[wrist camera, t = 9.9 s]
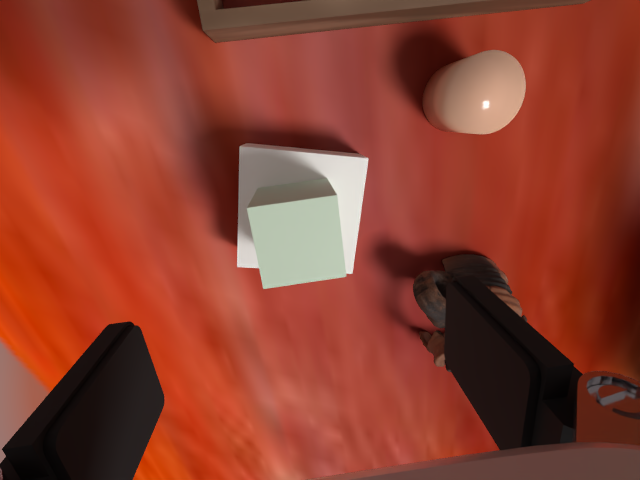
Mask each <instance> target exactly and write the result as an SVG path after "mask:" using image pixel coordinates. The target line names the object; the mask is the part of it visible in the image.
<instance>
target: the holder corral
mask: <svg viewBox="0 0 640 480" xmlns="http://www.w3.org/2000/svg"><path fill="white" fill-rule="evenodd" d="M588 1H590V0H307V1H297V2H287V3H278V4H268V5H258V6H249V7H239V8H229V9H224V8H223V2H222V0H197V3H198V8H199V14H200V19H201V24H202V29H203V31H204V32H205V33H206V34H207V35H208V36H209V37H210V38H211V39H212V40H213V41H214V42H215V43H217V42H227V41H236V40H245V39H255V38H264V37H274V36H283V35H292V34H302V33H311V32H321V31H330V30H339V29H349V28H358V27H367V26H377V25H386V24H396V23H405V22H414V21H424V20H433V19H443V18H452V17H461V16H471V15H480V14H490V13H499V12H508V11H518V10H527V9H537V8H546V7H555V6H565V5H574V4H583V3H585V2H588Z"/></svg>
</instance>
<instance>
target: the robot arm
mask: <svg viewBox="0 0 640 480" xmlns="http://www.w3.org/2000/svg"><path fill="white" fill-rule="evenodd" d="M444 356H445V361H446V363H447V366H448V367H449V369H450V370H451V372H452V374H453V375H454V377H455V378H456V380H457V382H458V383H459V385H460V387H461V388H462V390H463V391H464V393H465V395H466V396H467V398H468V399H469V401H470V403H471V404H472V406H473V407H474V409H475V411H476V412H477V414H478V415H479V417H480V419H481V420H482V422H483V423H484V425H485V427H486V428H487V430H488V431H489V433H490V435H491V436H492V438H493V439H494V441H495V443H496V444H497V446H498V447H499V449H500V450H499V451H492V452H484V453H477V454H469V455H462V456H456V457H449V458H443V459H436V460H430V461H423V462H416V463H410V464H403V465H397V466H390V467H384V468H377V469H371V470H364V471H357V472H351V473H345V474H338V475H332V476H326V477H319V478H313V479H307V480H640V382H638V381H636V380H634V379H632V378H629V377H627V376H624V375H621V374H617V373H612V372H607V371H592V372H588V373H585V374H584V375H583V374H582V373H581V372H579V371H578V370H577V369H576V368H575V367H574V366H573V365H574V364H573V363H572V362H571V361H570V360H569V359H568V358H567V357H566V356H564V355H563V354H562V353H561V352H560V351H559V350H558V349H557V348H555V347H554V346H553V345H552V344H551V343H550V342H549V341H547V340H546V339H545V338H544V337H543V336H542V335H541V334H540V333H538V332H537V331H536V330H535V329H534V328H533V327H532V326H530V325H529V324H528V323H527V322H526V321H525V320H524V319H523V318H521V317H520V316H519V315H518V314H517V313H516V312H515V311H514V310H512V309H511V308H510V307H509V306H508V305H507V304H506V303H504V302H503V301H502V300H501V299H500V298H499V297H498V296H497V295H495V294H494V293H493V292H492V291H491V290H490V289H489V288H488V287H486V286H485V285H484V284H483V283H482V282H481V281H480V280H478V279H477V278H476V277H475V276H473V275H467V276H460V277H454V278H453V279H452V281H451V283H448V284H447V286H446V313H445V345H444ZM163 406H164V394H163V391H162V388H161V385H160V382H159V379H158V377H157V374H156V371H155V368H154V365H153V362H152V360H151V357H150V354H149V351H148V348H147V345H146V343H145V340H144V337H143V334H142V331H141V329H140V327H139V326H134V324H133V323H132V322H123V323H115V324H109V325H108V326H107V327H106V328H105V329H104V330H103V331H102V332H101V334H100V335H99V336H98V337H97V338H96V339H95V341H94V342H93V343H92V344H91V345H90V346H89V348H88V349H87V350H86V351H85V352H84V353H83V355H82V356H81V357H80V358H79V359H78V361H77V362H76V363H75V364H74V365H73V366H72V368H71V369H70V370H69V371H68V372H67V373H66V375H65V376H64V377H63V378H62V379H61V380H60V382H59V383H58V384H57V385H56V386H55V387H54V389H53V390H52V391H51V392H50V393H49V395H48V396H47V397H46V398H45V399H44V401H43V402H42V403H41V404H40V405H39V406H38V407H37V409H36V410H35V411H34V412H33V413H32V414H31V416H30V417H29V418H28V419H27V421H26V422H25V423H24V424H23V425H22V426H21V427H20V429H19V430H18V431H17V432H16V433H15V434H14V436H13V437H12V438H11V439H10V441H8V443H7V444H6V445H5V446H4V447H3V449H2V450H3V452H4V453H5V455H6V457H5V459H4V460H3V461H2V462H1V463H0V480H132V479H133V477H134V475H135V472H136V470H137V468H138V465H139V463H140V461H141V458H142V456H143V454H144V451H145V449H146V447H147V444H148V442H149V440H150V437H151V435H152V433H153V430H154V428H155V426H156V423H157V421H158V418H159V416H160V414H161V411H162V409H163Z"/></svg>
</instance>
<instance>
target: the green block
mask: <svg viewBox="0 0 640 480" xmlns="http://www.w3.org/2000/svg"><path fill="white" fill-rule="evenodd" d="M247 211H248V216H249V221H250V226H251V231H252V236H253V240H254V245H255V250H256V255H257V260H258V265H259V270H260V274H261V279H262V284H263V289H267V288H273V287H280V286H287V285H294V284H300V283H307V282H314V281H321V280H327V279H334V278H341V277H346V269H345V260H344V251H343V242H342V233H341V225H340V216H339V207H338V198H337V194H336V192H335V191H334V189H333V187H332V185H331V184H330V182H329V180H328V179H327V178H325V179H317V180H310V181H303V182H296V183H289V184H282V185H275V186H268V187H261V188H258V189H257V190H256V192H255V194H254V196H253V198H252V199H251V201H250V203H249V205H248V207H247Z"/></svg>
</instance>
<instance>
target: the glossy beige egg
mask: <svg viewBox="0 0 640 480" xmlns="http://www.w3.org/2000/svg"><path fill="white" fill-rule="evenodd" d="M525 90H526V82H525V75H524V72H523V69H522V67H521V65H520V64H519V62H518V61H517V60H516V59H515V58H514V57H513V56H511V55H510V54H508V53H506V52H503V51H499V50H489V51H484V52H481V53H478V54H476V55H473V56H470V57H467V58H465V59H462V60H459V61H456V62H454V63H451V64H448V65H446V66H444V67H442V68H440V69H439V70H437V71H436V72H435V73H434V74H433V75H432V76H431V78H430V79H429V81H428V83H427V84H426V87H425V90H424V93H423V110H424V113H425V116H426V118H427V120H428V121H429V122H430V123H431V125H433V126H434V127H435V128H437V129H439V130H441V131H445V132H457V133H471V134H489V133H492V132H495V131H498V130H500V129H501V128H503V127H504V126H506V125H507V124H508V123H509V122H510V121H511V120H512V119H513V118H514V117H515V116H516V114H517V113H518V111H519V109H520V107H521V105H522V102H523V100H524V96H525Z"/></svg>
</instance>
